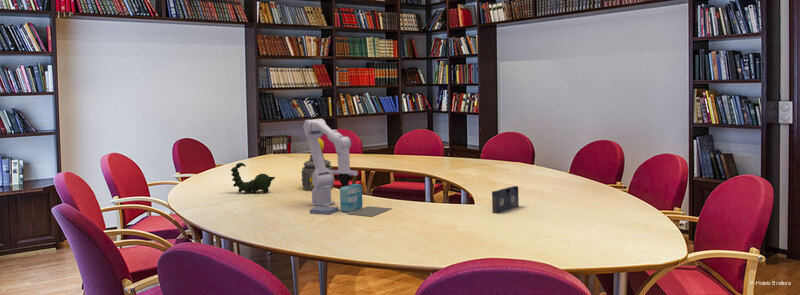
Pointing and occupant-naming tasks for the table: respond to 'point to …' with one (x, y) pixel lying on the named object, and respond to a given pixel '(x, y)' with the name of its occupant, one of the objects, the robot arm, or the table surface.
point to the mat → (369, 211)
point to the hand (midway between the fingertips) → (345, 189)
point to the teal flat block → (351, 198)
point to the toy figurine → (254, 185)
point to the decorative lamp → (312, 170)
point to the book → (323, 210)
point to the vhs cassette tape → (505, 199)
